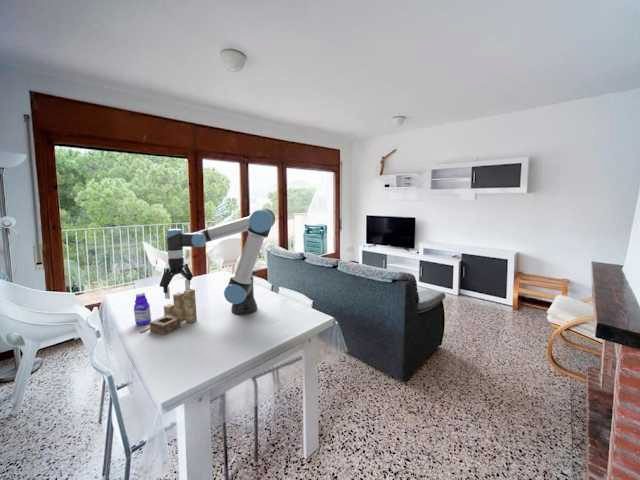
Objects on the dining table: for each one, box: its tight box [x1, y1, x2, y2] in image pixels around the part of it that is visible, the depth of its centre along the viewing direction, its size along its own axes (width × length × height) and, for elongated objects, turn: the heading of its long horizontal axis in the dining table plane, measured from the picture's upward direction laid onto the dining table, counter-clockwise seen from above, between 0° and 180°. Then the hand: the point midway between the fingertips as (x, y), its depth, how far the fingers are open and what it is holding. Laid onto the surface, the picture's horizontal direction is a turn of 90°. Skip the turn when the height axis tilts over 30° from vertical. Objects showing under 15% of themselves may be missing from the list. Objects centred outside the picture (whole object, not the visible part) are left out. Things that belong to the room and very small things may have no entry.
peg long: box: [183, 288, 198, 324], centre depth 157 cm, size 4×4×18 cm
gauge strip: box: [139, 326, 150, 334], centre depth 152 cm, size 15×2×1 cm, turn 158°
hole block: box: [149, 315, 182, 336], centre depth 149 cm, size 10×10×5 cm
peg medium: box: [172, 291, 186, 322], centre depth 160 cm, size 4×4×15 cm
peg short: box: [163, 303, 175, 317], centre depth 164 cm, size 4×4×7 cm
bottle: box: [133, 291, 152, 326], centre depth 154 cm, size 7×6×17 cm
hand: (178, 294), depth 159 cm, fingers open, 13 cm apart
